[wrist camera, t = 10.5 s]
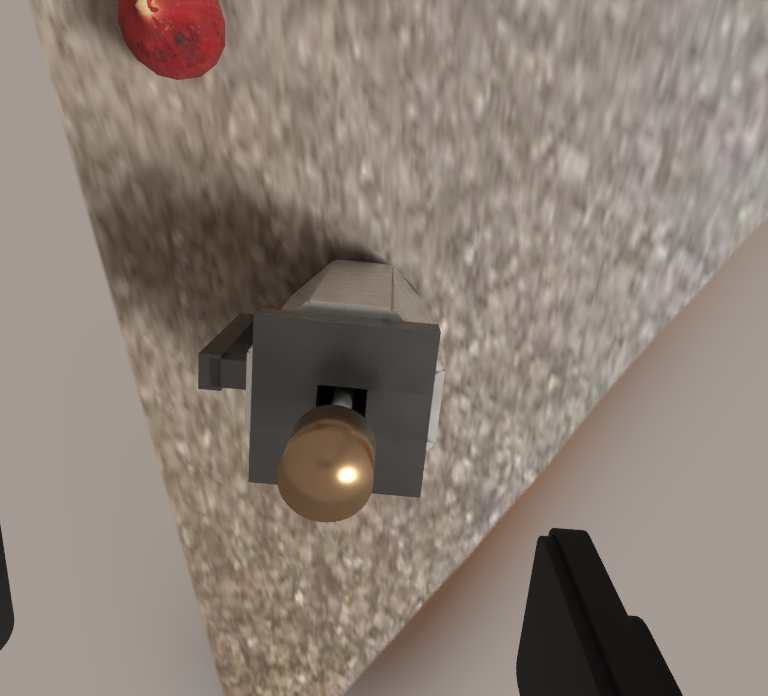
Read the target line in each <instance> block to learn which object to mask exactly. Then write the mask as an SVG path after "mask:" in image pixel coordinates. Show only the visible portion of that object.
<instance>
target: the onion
mask: <svg viewBox="0 0 768 696" xmlns="http://www.w3.org/2000/svg"><path fill="white" fill-rule="evenodd" d="M118 22H119V26H120V29H121V32H122V35H123V39H124V41H125V43H126V44H127V46H128V47H129V48H130V50H131V51H132V53H133V54H134V55H135V57H136V58H137V59H138V60H139V61H140V62H141V63H143V64H144V65H145V66H147V67H148V68H149V69H151V70H152V71H153V72H155V73H156V74H157V75H160V76H164V77H168V78H172V79H176V80H182V79H189V78H195V77H201V76H202V75H203V74H205V73H206V72H207V71H209V70H210V69H211V68H212V67H214V66H215V65H216V64H217V62H218V60H219V58H220V55H221V53H222V51H223V49H224V47H225V21H224V18H223V15H222V11H221V8H220V5H219V2H218V0H119V11H118Z"/></svg>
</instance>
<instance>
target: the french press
mask: <svg viewBox="0 0 768 696" xmlns="http://www.w3.org/2000/svg"><path fill="white" fill-rule="evenodd" d="M440 333H441V332H440V329H439V325H438V324H433V321H432V317H431V313H430V309H429V308H428V307H427V305H426V304H425V303H424V302H423V300H422V299H421V298H420V297H419V295H418V294H417V292H416V290H415V289H414V288H413V286H412V285H411V284H410V283H409V282H408V281H407V280H406V279H405V278H404V277H403V276H402V275H401V274H400V273H399V271H398V270H397V269H396V268H395V267H394V266H393V267H392V265H387V264H380V263H377V262H373V261H367V260H349V261H345V260H335V261H334V260H333V261H332V262H331V263H330V264H328V265H327V266H326V267H325V268H324V269H323V270H321V271H320V272H318V273H317V274H316V275H314V276H313V277H312V278H311V279H310V280H309V281H308V282H307V283H306V284H305V285H304V286H302V287H301V288H300V289H299V290H298V291H296V292H295V293H294V294H293V295H292V296H291V297H290V298H289V299H288V301H287V302H286V303H285V304H284V306H283V307H282V308H281V309H271V308H260V309H259V310H258V311H257V312H256V313H255V314H254V315H251V314H241V313H240V314H239V315H238V316H237V317H236V318H235V319H234V320H233V321H232V322H231V323H230V324H229V325H228V326H227V327H226V328H225V329H224V330H222V331H221V332H220V333H219V334H218V335H217V336H216V337H215V338H214V339H213V340H212V341H211V342H210V343H209V344H208V345H207V346H206V347H205V348H204V349H203V350H202V351H201V352H199V379H198V389H207V390H218V391H221V390H222V388H234V389H245V390H246V402H245V425H247V427H246V428H247V430H248V431H249V432H250V449H249V481H248V482H255V483H266V484H277V485H278V483H277V471H278V467H279V464H280V461H281V458H282V456H283V453H284V451H285V448H286V446H287V443H288V440H289V438H290V435H291V433H292V430H293V428H294V426H295V424H296V422H297V421H298V420H299V419H300V417H301V416H303V415H304V414H305V413H306V412H308V411H309V410H311V409H313V408H316V407H319V406H323V405H331V404H332V400H333V396H334V392H335V389H336V386H338V387H349V388H355V392H354V397H353V403H352V408H351V409H353V410H354V411H356V412H358V413H359V414H360V415H362V416H363V417H364V418H365V419H366V420H367V422H368V423H369V424H370V426H371V428H372V430H373V432H374V436H375V441H376V451H375V466H374V481H373V489H372V492H371V493H375V494H386V495H397V496H408V497H419V498H420V494H421V486H422V478H423V470H424V462H425V454H426V451H427V450H428V449H430V448H431V447H432V446H434V443H436V435H437V428H438V420H439V412H440V404H441V397H442V389H443V381H444V373H445V370H444V366H443V362H442V358H441V354H440V350H439V341H440Z"/></svg>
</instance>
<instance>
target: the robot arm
mask: <svg viewBox="0 0 768 696" xmlns="http://www.w3.org/2000/svg"><path fill="white" fill-rule="evenodd" d="M13 626H14V613H13V607H12V600H11V593H10V587H9V580H8V573H7V566H6V560H5V553H4V546H3V539H2V533H1V526H0V650H1V649H2V648H3V647H4V645H5V644H6V643H7V641H8V640H9V638H10V636H11V633H12V630H13ZM516 671H517V672H516V674H517V682H518V688H519V693H520V696H683V695H682V693H681V691H680V689H679V687H678V685H677V683H676V681H675V679H674V677H673V676H672V674H671V672H670V670H669V668H668V666H667V664H666V662H665V660H664V658H663V656H662V654H661V652H660V650H659V648H658V646H657V644H656V642H655V640H654V639H653V637H652V635H651V633H650V631H649V629H648V627H647V625H646V624H645V623H644V621H643V620H642V619H641V618H639V617H638V616H628V615H627V613H626V611H625V609H624V607H623V604H622V602H621V600H620V598H619V596H618V594H617V592H616V590H615V588H614V586H613V584H612V582H611V580H610V577H609V575H608V573H607V571H606V569H605V567H604V565H603V563H602V561H601V559H600V557H599V555H598V553H597V551H596V548H595V546H594V544H593V542H592V540H591V538H590V536H589V534H588V533H587V532H586V531H584V530H573V529H559V528H552V529H551V530H550V532H549V535H548V536H540V537H539V538H538V541H537V546H536V551H535V557H534V563H533V569H532V574H531V580H530V586H529V592H528V598H527V603H526V610H525V615H524V621H523V627H522V632H521V638H520V644H519V650H518V656H517V666H516Z"/></svg>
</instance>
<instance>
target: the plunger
mask: <svg viewBox="0 0 768 696" xmlns="http://www.w3.org/2000/svg"><path fill="white" fill-rule="evenodd" d="M354 392H355V388H349V387H338V386H336V389H335V392H334V396H333V400H332V404H331V405H323V406H319V407H316V408H313V409H311V410H309V411H308V412H306V413H305V414H304V415H303V416H301V417H300V419H299V420H298V421H297V422H296V424H295V426H294V428H293V430H292V433H291V435H290V438H289V440H288V443H287V446H286V448H285V451H284V453H283V456H282V458H281V461H280V464H279V467H278V471H277V483H278V488H279V491H280V494H281V496H282V498H283V499H284V501H285V502H286V503H287V505H288V506H289V507H290V508H291V509H292V510H294V511H295V512H296V513H298V514H299V515H301V516H303V517H305V518H307V519H310V520H314V521H319V522H335V521H340V520H343V519H346V518H349V517H351V516H352V515H354V514H356V513H357V512H358V511H359V510H361V509H362V508H363V506H364V505H365V504H366V503H367V501H368V499H369V497H370V495H371V492H372V489H373V481H374V466H375V451H376V441H375V436H374V432H373V430H372V428H371V426H370V424H369V423H368V422H367V420H366V419H365V418H364V417H363V416H362V415H360V414H359V413H358V412H356V411H354V410H353V409H351V408H352V403H353V397H354Z"/></svg>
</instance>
